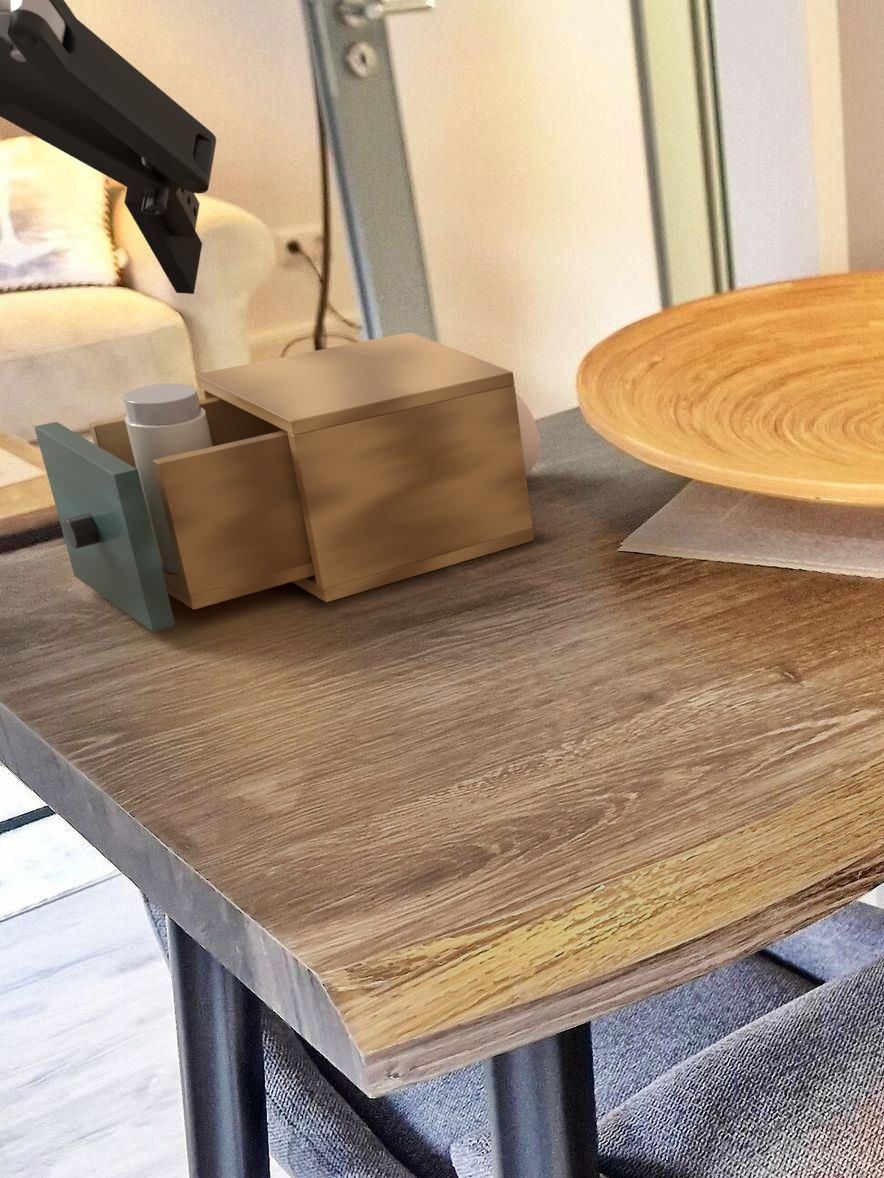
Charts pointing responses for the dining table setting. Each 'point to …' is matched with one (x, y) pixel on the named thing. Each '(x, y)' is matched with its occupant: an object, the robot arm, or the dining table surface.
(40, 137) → the robot arm
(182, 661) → the dining table surface
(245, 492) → the drawer
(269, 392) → the cabinet
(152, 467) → the salt shaker
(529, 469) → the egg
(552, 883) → the dining table surface
